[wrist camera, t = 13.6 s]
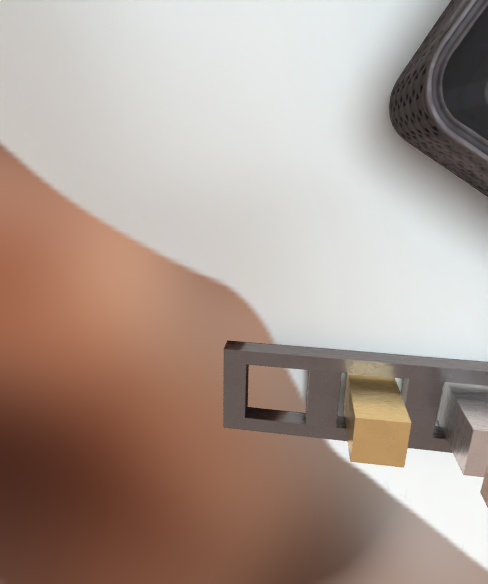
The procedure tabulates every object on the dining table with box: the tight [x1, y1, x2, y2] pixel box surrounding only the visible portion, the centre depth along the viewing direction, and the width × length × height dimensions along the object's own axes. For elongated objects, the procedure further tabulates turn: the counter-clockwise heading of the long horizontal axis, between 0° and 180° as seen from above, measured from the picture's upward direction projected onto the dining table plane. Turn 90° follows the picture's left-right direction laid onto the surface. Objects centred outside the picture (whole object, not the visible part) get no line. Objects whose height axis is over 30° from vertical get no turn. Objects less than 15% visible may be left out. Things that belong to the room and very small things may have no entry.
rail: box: [224, 341, 488, 453], centre depth 43 cm, size 30×9×2 cm, turn 89°
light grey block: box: [437, 382, 488, 477], centre depth 39 cm, size 5×5×8 cm
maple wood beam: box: [344, 373, 411, 467], centre depth 40 cm, size 5×5×8 cm
